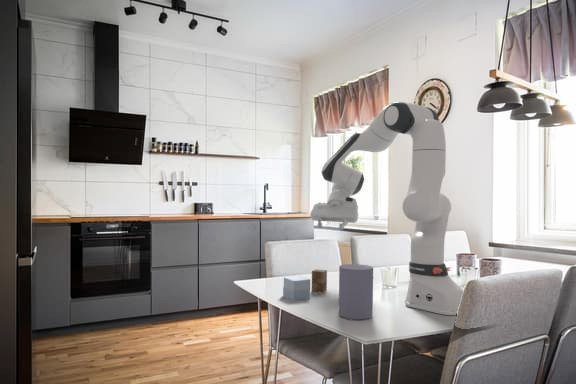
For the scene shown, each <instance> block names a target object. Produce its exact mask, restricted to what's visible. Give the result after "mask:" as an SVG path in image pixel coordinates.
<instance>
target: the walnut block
mask: <svg viewBox="0 0 576 384" xmlns="http://www.w3.org/2000/svg"><path fill="white" fill-rule="evenodd" d="M327 271H328V270H327V269H326V270H325V269H317V268H316V269H314V270H311V293H317V292H318V294H319V293H320V294H324V293H325V291H326V292H327V291H328V289H327V287H328V286H327V284H328V282H327V281H328V276H327V275H328V272H327Z"/></svg>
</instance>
